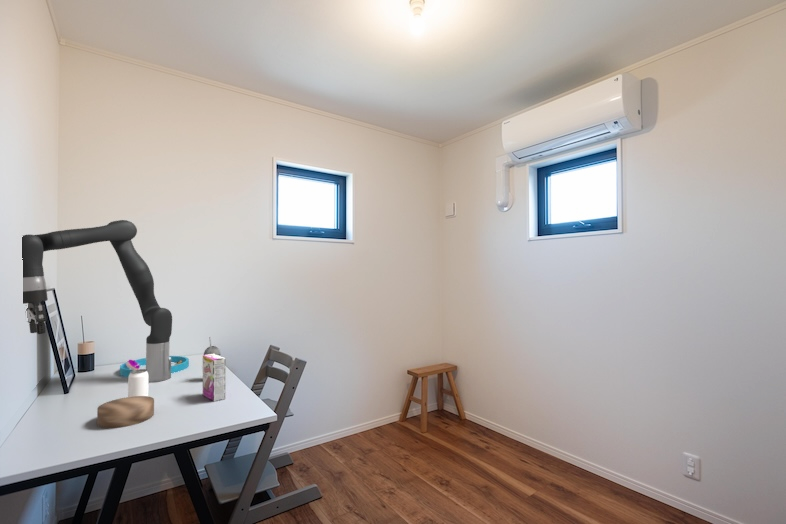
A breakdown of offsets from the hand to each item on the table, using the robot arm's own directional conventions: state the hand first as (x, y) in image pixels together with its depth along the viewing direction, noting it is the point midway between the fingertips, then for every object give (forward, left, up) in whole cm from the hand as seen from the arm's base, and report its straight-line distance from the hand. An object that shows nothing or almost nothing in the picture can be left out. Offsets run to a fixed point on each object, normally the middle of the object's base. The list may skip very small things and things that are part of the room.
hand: (37, 333), depth 142 cm
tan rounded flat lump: (-13, +38, -28) cm, 49 cm away
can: (-23, +24, -28) cm, 43 cm away
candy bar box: (-42, +43, -28) cm, 66 cm away
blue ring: (-52, -22, -28) cm, 63 cm away
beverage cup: (-56, +20, -28) cm, 66 cm away
